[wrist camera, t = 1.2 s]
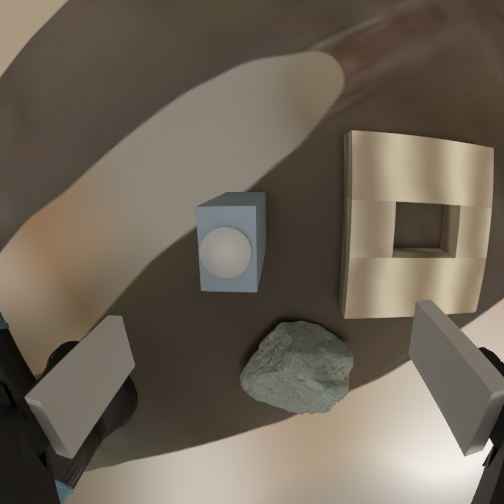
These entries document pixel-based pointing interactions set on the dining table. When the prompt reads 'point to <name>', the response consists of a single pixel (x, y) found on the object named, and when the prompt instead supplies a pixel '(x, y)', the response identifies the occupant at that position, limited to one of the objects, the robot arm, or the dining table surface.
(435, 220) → the dining table surface
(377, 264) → the hub block
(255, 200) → the keyed peg
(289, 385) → the decorative stone
